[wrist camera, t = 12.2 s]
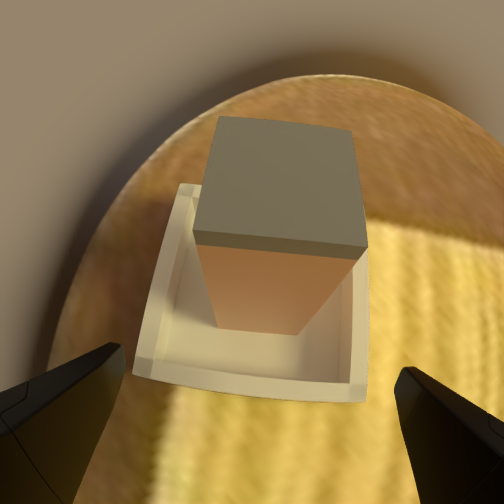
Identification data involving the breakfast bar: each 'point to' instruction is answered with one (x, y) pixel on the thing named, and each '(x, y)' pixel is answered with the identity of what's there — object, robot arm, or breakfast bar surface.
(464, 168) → the breakfast bar surface
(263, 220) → the grey-topped orange box
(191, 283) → the tray
